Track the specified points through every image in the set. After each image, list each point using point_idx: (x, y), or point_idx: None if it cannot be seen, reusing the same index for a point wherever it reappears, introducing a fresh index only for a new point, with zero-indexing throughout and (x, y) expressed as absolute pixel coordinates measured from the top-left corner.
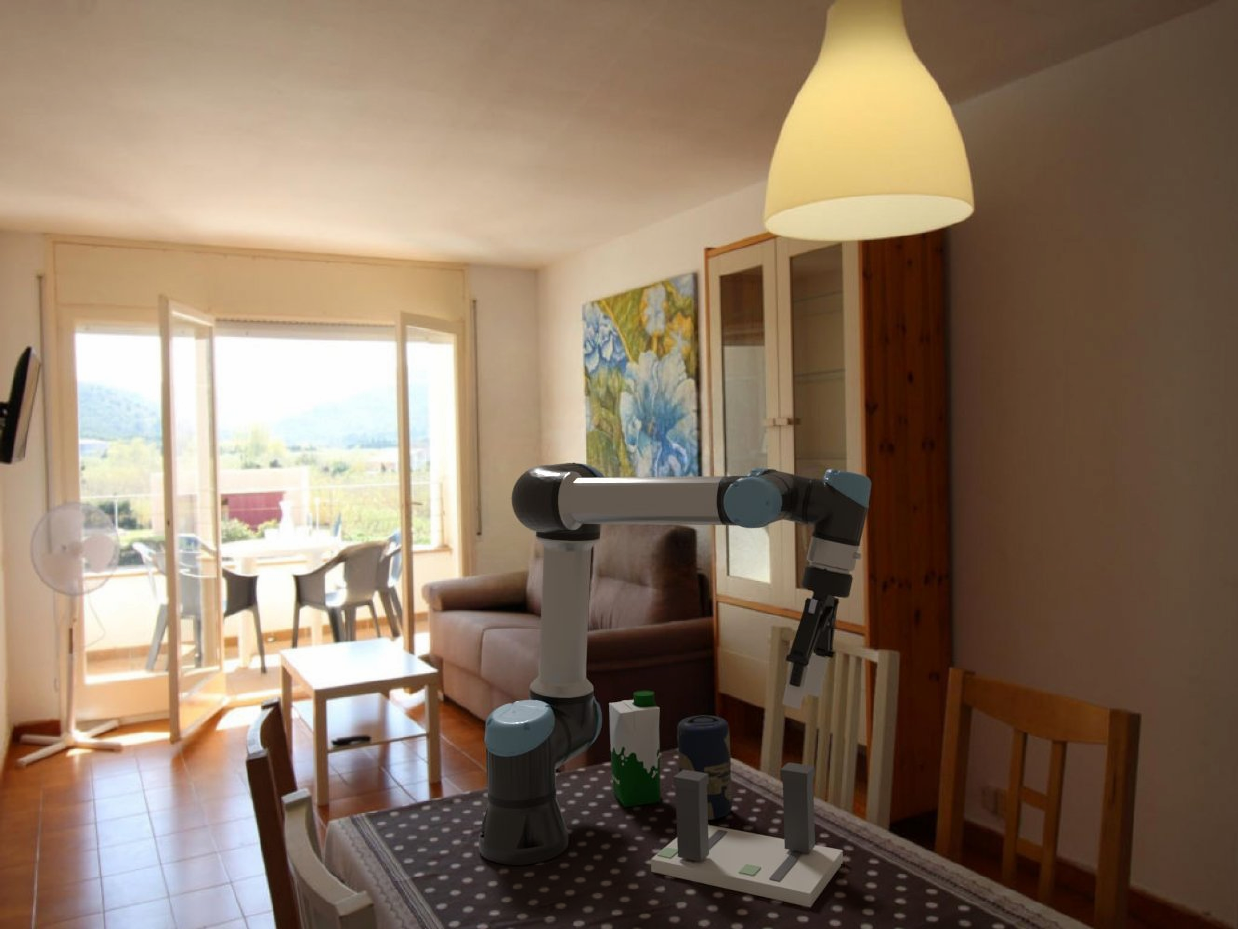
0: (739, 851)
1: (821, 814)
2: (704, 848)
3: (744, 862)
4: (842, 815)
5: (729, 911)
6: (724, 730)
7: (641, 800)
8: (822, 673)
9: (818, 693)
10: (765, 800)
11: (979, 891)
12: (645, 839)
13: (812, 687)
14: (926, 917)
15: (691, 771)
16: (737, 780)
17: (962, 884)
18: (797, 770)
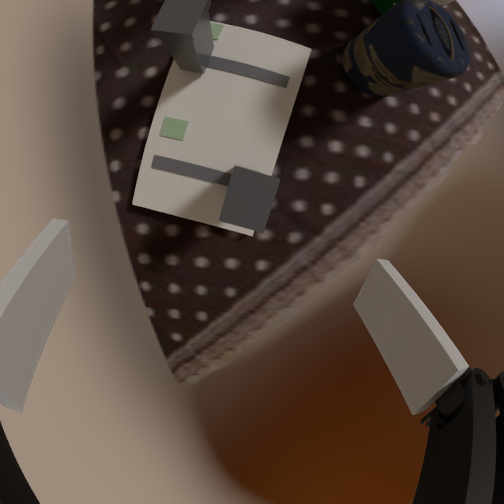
0: (227, 107)
1: (383, 206)
2: (189, 67)
3: (195, 118)
4: (381, 231)
5: (114, 121)
6: (426, 64)
7: (376, 3)
8: (390, 361)
9: (360, 309)
10: (415, 141)
11: (211, 351)
12: (280, 6)
13: (375, 300)
14: (148, 307)
15: (201, 8)
16: (457, 115)
17: (222, 340)
18: (233, 200)
